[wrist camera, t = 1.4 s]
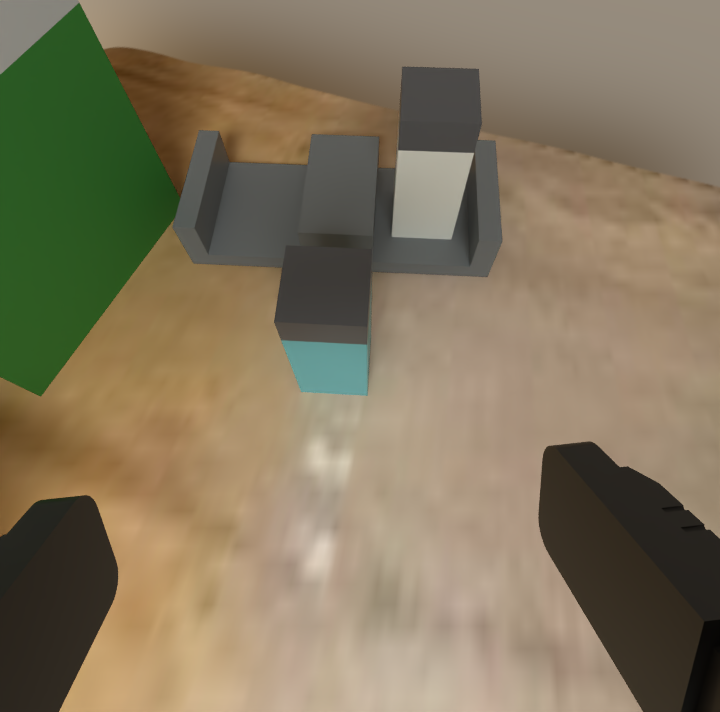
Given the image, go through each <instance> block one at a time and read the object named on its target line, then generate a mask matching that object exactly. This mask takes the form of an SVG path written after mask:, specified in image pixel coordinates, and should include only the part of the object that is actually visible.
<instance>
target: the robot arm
mask: <svg viewBox="0 0 720 712" xmlns="http://www.w3.org/2000/svg"><path fill="white" fill-rule="evenodd" d="M539 527H540V532H541V536H542V539H543V542H544V545H545V547H546V550H547V551H548V553H549V555H550V557H551V558H552V560H553V562H554V563H555V565H556V567H557V568H558V570H559V572H560V573H561V575H562V577H563V578H564V580H565V582H566V583H567V585H568V587H569V588H570V590H571V592H572V594H573V595H574V597H575V599H576V600H577V602H578V604H579V605H580V607H581V609H582V610H583V612H584V614H585V615H586V617H587V619H588V620H589V622H590V624H591V625H592V627H593V629H594V630H595V632H596V634H597V635H598V637H599V639H600V640H601V642H602V644H603V645H604V647H605V649H606V650H607V652H608V654H609V655H610V657H611V659H612V660H613V662H614V664H615V665H616V667H617V669H618V670H619V672H620V674H621V675H622V677H623V679H624V680H625V682H626V684H627V685H628V687H629V689H630V690H631V692H632V694H633V695H634V697H635V699H636V700H637V702H638V704H639V706H640V707H641V709H642V711H643V712H720V539H719V538H718V537H717V536H716V535H715V534H714V533H713V532H712V531H711V530H706V529H705V527H704V524H703V523H702V522H701V521H700V520H699V519H698V518H696V517H695V516H694V515H693V514H692V513H691V512H690V511H689V510H684V508H683V505H682V504H681V503H680V502H679V501H678V500H677V499H676V498H675V497H673V496H672V495H671V494H670V493H669V492H668V491H667V490H666V489H665V488H664V487H663V486H661V485H660V484H659V483H657V482H656V481H654V480H652V479H650V478H648V477H646V476H644V475H643V474H641V473H639V472H637V471H635V470H633V469H631V468H629V467H619V466H618V465H617V464H616V463H615V462H614V461H613V460H612V459H611V458H610V457H609V456H608V455H607V454H606V453H604V452H603V451H602V450H601V449H600V448H599V447H598V446H597V445H596V444H595V443H593V442H581V443H571V444H562V445H553V446H548V447H547V448H546V449H545V451H544V454H543V461H542V475H541V488H540V502H539ZM117 585H118V567H117V563H116V559H115V556H114V553H113V551H112V548H111V545H110V542H109V539H108V536H107V533H106V530H105V527H104V524H103V521H102V519H101V516H100V513H99V510H98V507H97V505H96V503H95V501H94V500H93V499H92V498H91V497H90V496H87V495H84V496H75V497H66V498H57V499H47V500H40V501H38V502H36V503H35V504H33V505H32V506H31V507H30V509H29V510H28V511H27V512H26V513H25V514H24V515H23V516H22V518H21V519H20V520H19V521H18V522H17V523H16V524H15V526H14V527H13V528H12V529H11V530H10V531H9V532H8V533H7V535H3V536H1V537H0V712H59V710H60V708H61V706H62V704H63V702H64V700H65V698H66V696H67V694H68V692H69V690H70V688H71V686H72V684H73V682H74V680H75V678H76V676H77V674H78V672H79V670H80V668H81V666H82V664H83V662H84V660H85V658H86V656H87V653H88V651H89V649H90V647H91V645H92V643H93V641H94V639H95V637H96V635H97V633H98V631H99V629H100V627H101V625H102V623H103V621H104V619H105V617H106V615H107V613H108V611H109V609H110V607H111V605H112V603H113V600H114V597H115V594H116V590H117Z"/></svg>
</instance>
